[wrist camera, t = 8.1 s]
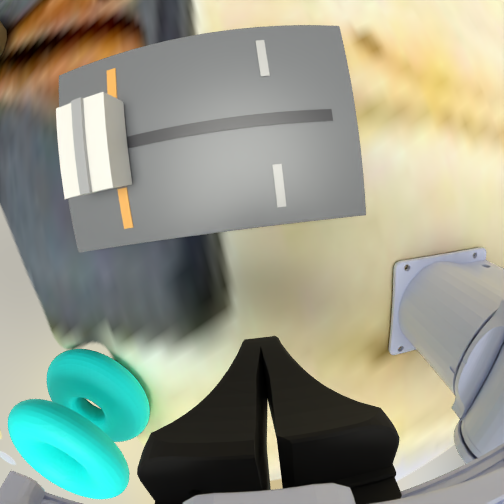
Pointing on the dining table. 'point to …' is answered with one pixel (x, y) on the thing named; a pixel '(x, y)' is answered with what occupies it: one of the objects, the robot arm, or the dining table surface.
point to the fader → (92, 145)
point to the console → (225, 135)
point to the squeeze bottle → (2, 38)
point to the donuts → (82, 424)
